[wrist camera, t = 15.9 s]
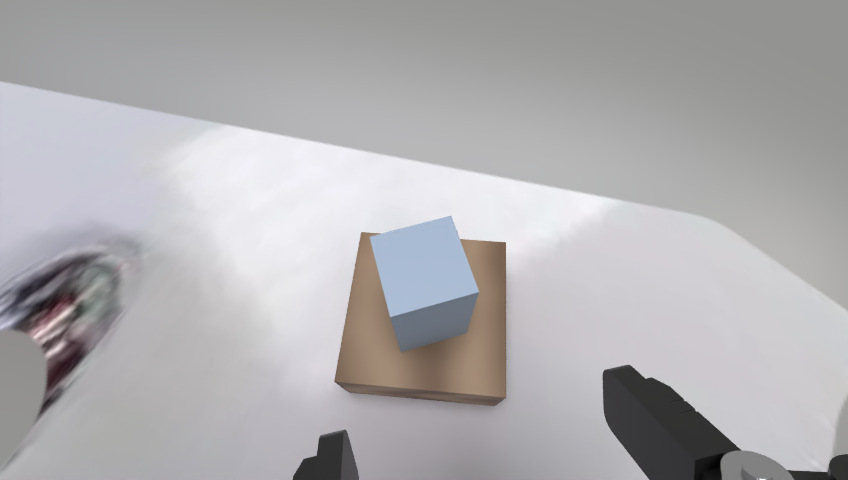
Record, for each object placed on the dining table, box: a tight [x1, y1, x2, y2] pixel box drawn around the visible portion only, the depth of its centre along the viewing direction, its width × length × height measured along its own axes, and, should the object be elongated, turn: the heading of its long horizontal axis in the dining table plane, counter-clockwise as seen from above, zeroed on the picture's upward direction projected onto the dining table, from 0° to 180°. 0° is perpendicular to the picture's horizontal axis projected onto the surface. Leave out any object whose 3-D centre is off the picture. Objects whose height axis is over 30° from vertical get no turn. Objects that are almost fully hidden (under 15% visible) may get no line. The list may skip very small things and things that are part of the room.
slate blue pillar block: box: [370, 216, 479, 352], centre depth 27 cm, size 5×5×9 cm
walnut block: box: [334, 232, 506, 406], centre depth 34 cm, size 12×12×6 cm
